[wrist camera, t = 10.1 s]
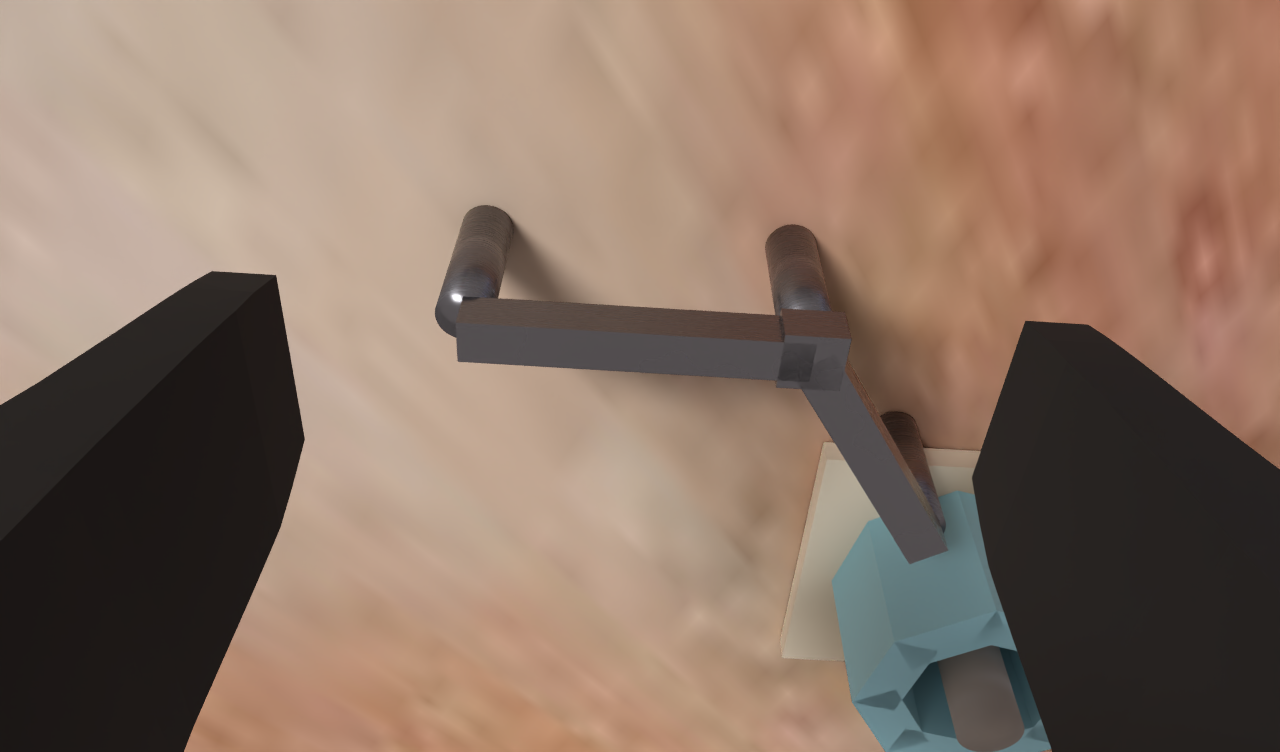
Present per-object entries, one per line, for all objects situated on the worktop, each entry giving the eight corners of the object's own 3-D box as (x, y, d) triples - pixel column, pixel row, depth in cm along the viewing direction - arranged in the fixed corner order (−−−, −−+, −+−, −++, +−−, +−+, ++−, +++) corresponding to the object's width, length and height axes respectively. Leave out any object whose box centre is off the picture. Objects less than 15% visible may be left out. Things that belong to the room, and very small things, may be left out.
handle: (972, 233, 20) (1028, 349, 17) (910, 447, 24) (948, 576, 21) (461, 201, 20) (424, 313, 17) (471, 421, 24) (442, 548, 20)
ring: (1024, 467, 23) (1073, 587, 21) (1081, 605, 26) (1132, 727, 23) (807, 542, 25) (825, 663, 22) (883, 664, 28) (908, 786, 25)
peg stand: (1127, 459, 24) (1219, 634, 20) (1038, 653, 28) (1100, 829, 24) (824, 441, 24) (855, 614, 20) (779, 639, 28) (799, 814, 24)
